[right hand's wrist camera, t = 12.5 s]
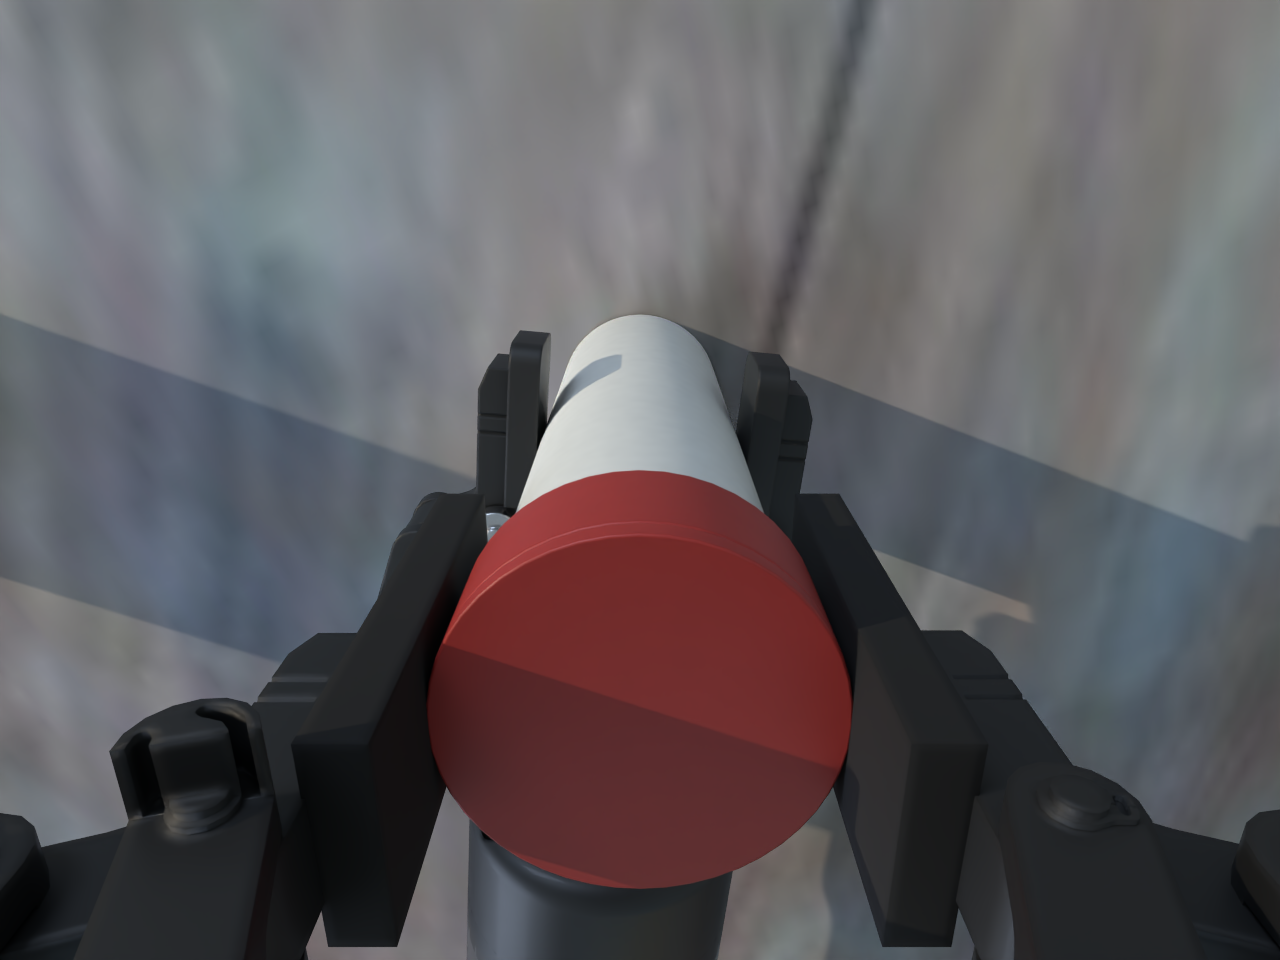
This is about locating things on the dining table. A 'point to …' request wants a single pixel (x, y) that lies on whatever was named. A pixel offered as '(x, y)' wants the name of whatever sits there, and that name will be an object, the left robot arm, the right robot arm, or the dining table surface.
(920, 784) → the right robot arm
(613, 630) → the lid
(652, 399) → the white cylinder
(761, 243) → the dining table surface
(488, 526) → the left robot arm
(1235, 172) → the dining table surface
